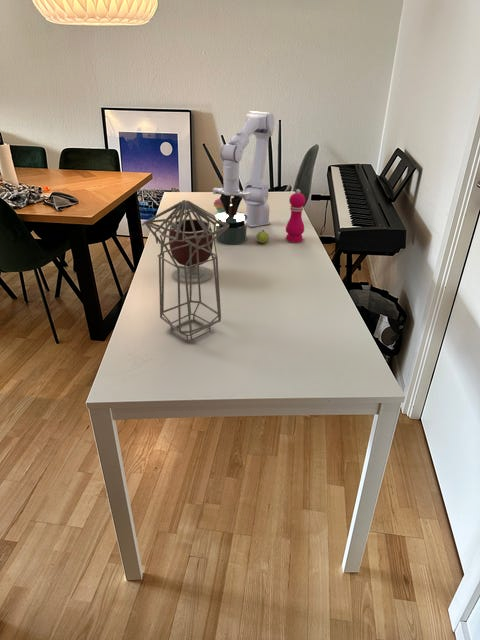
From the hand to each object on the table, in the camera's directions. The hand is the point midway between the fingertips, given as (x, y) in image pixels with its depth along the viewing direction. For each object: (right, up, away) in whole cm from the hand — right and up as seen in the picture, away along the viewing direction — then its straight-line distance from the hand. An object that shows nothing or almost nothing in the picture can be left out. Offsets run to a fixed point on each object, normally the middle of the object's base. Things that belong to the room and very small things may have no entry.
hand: (231, 214), depth 172 cm
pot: (0, -9, +5) cm, 10 cm away
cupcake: (-4, +8, +32) cm, 34 cm away
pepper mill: (+25, -9, +6) cm, 27 cm away
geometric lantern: (-10, -44, -54) cm, 70 cm away
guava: (+12, -10, +2) cm, 16 cm away
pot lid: (0, -1, +1) cm, 1 cm away
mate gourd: (-13, -26, -24) cm, 38 cm away
